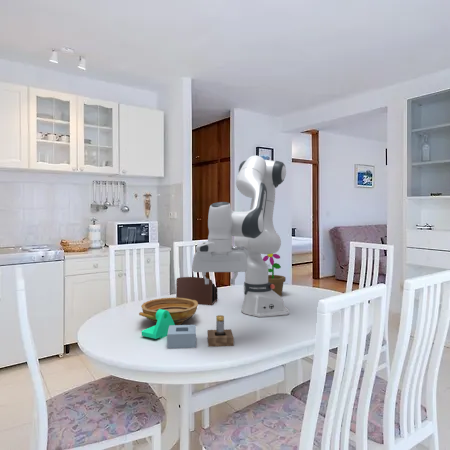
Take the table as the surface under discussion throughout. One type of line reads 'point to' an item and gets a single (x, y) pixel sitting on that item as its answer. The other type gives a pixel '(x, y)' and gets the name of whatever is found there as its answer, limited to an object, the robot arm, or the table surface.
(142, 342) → the table surface
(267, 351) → the table surface
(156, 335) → the camera mount
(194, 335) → the dock
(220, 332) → the lock pin
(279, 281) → the flowerpot
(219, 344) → the pin mount
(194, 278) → the letter holder
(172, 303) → the ceramic bowl
